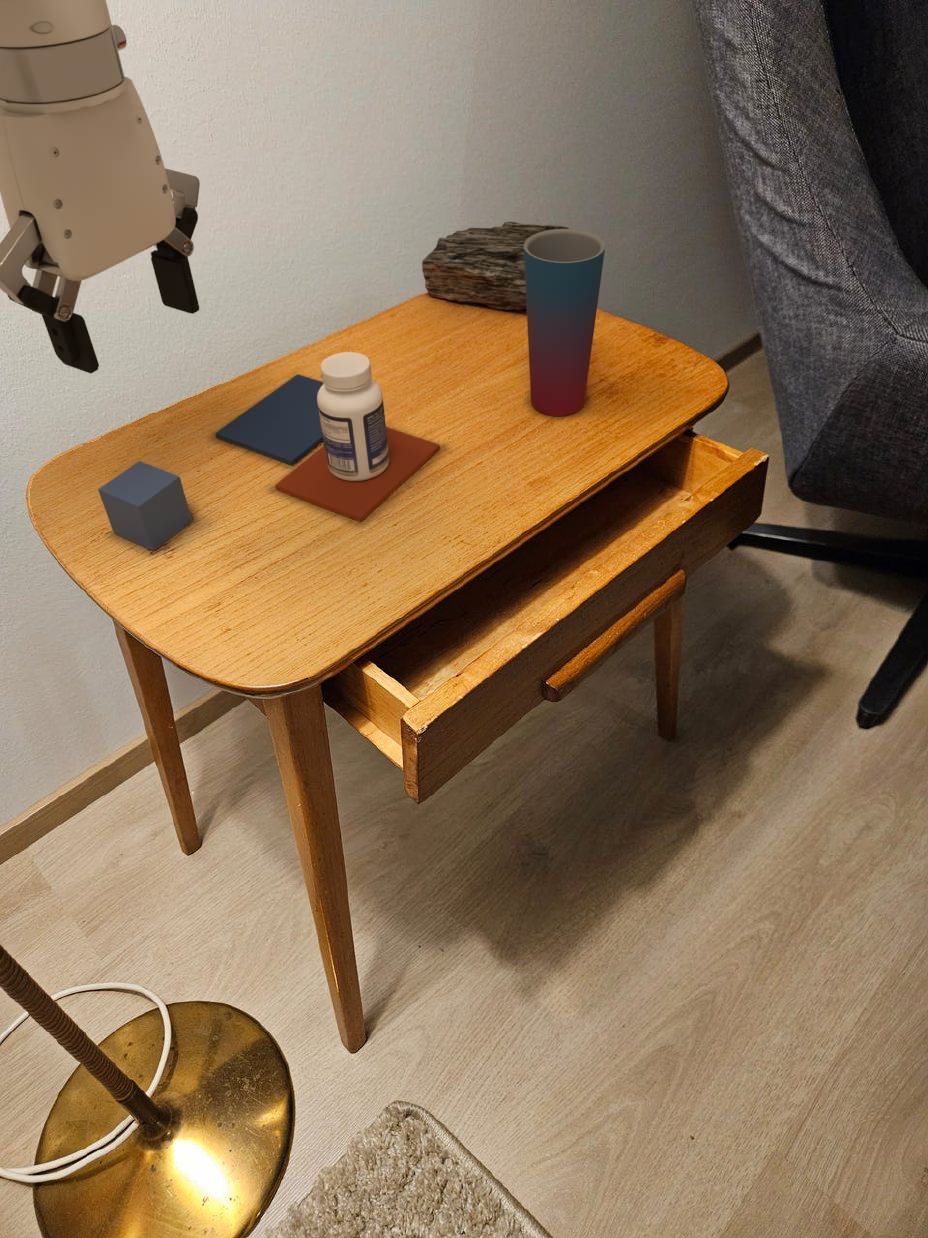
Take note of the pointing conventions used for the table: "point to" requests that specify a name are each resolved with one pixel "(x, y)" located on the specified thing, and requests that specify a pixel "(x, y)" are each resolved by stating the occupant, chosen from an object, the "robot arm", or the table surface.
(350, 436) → the pill bottle
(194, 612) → the table surface
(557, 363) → the cup
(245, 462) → the table surface
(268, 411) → the blue mat
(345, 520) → the table surface
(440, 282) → the rock
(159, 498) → the blue block
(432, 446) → the rust mat
